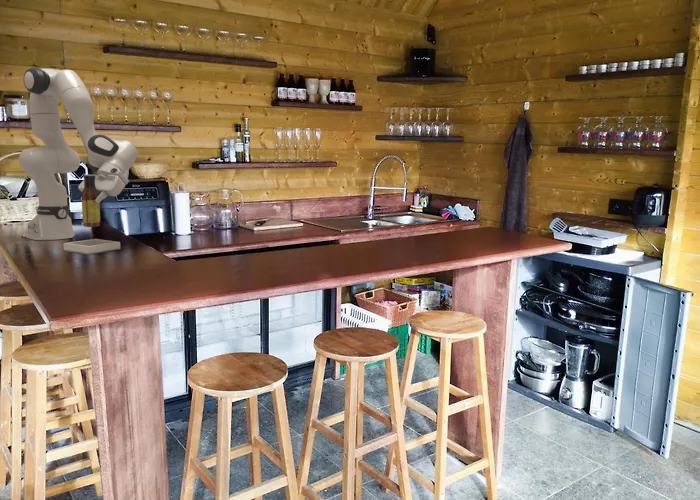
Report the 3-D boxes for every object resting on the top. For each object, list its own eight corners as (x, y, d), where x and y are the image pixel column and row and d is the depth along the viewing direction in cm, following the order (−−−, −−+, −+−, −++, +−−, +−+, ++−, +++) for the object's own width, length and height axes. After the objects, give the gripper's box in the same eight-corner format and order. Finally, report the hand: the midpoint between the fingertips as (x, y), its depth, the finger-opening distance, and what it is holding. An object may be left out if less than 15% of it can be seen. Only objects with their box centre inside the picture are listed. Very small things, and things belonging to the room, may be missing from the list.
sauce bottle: (103, 225, 227) (103, 175, 223) (95, 228, 221) (94, 176, 217) (87, 224, 228) (86, 173, 224) (78, 226, 222) (77, 174, 218)
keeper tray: (63, 251, 223) (63, 243, 222) (96, 246, 235) (95, 238, 235) (88, 254, 216) (88, 246, 215) (120, 249, 228) (120, 242, 228)
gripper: (87, 168, 231) (66, 194, 225) (122, 170, 222) (101, 197, 215) (97, 179, 236) (77, 205, 229) (132, 181, 226) (112, 208, 220)
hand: (89, 201), depth 222 cm, fingers closed on sauce bottle, 6 cm apart
